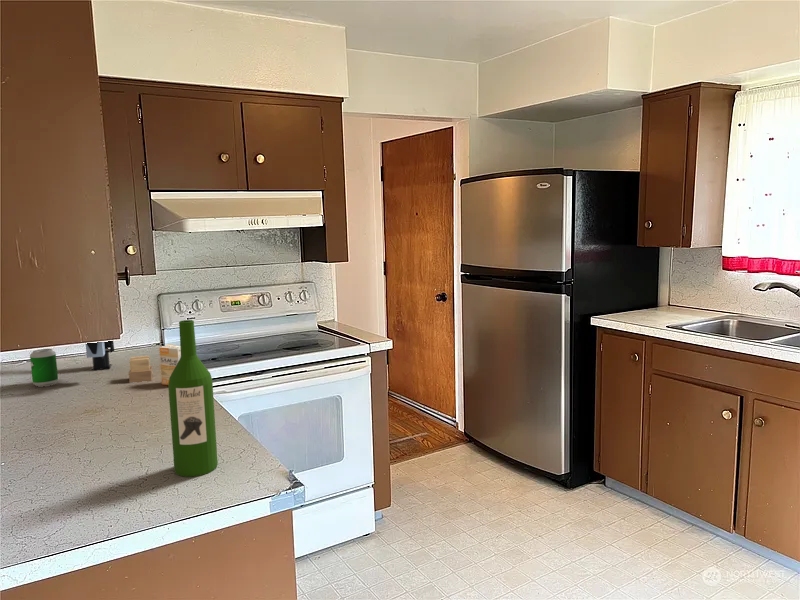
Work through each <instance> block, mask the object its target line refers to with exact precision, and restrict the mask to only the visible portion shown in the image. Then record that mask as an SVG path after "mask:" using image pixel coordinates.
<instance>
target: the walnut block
mask: <svg viewBox="0 0 800 600" xmlns="http://www.w3.org/2000/svg"><path fill="white" fill-rule="evenodd" d="M153 377H154V373H153V365H152V366H151V365H150V369H149V370H145V371H135V372H130V370H129V371H128V378H129V380H128V381H129V383H130V382H137V383H143V382H142V381H147V382H152V380H153Z"/></svg>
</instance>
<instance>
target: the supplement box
mask: <svg viewBox="0 0 800 600" xmlns="http://www.w3.org/2000/svg"><path fill="white" fill-rule="evenodd" d="M180 357H181V349H180V345H173V344H165V345H162V346H159V364H160V365H159V367H160V380H161V381H160V382H161V385H164V386H165V385H166V386H168V384H169V378H170V376H171V374H172V372H173V370H174V369H175V367H176V365H177V363H178V361H179V360H180Z"/></svg>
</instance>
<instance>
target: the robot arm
mask: <svg viewBox="0 0 800 600" xmlns="http://www.w3.org/2000/svg"><path fill="white" fill-rule="evenodd" d="M87 345H88V347H89V349H90V350H91V352H92V354H96V353H97V345H98V342H97V343H87ZM104 346H105V355H104V356H102V357H91V358H92V367H91V369H90V371H98V370H99V371H101V370H109V369H111V367H112V365H113V364H112V363H110V353H113V352H115V344H114V340H113V341H108V342H104Z"/></svg>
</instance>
